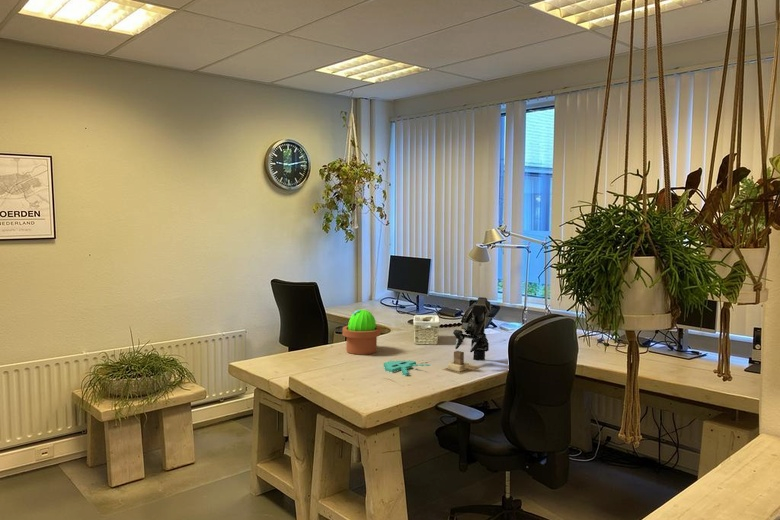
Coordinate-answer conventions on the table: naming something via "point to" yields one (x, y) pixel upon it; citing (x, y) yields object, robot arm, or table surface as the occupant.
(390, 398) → the table surface
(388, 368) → the alien figure
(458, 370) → the block
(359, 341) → the potted cactus
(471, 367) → the oak board
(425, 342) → the storage basket
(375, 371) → the table surface
